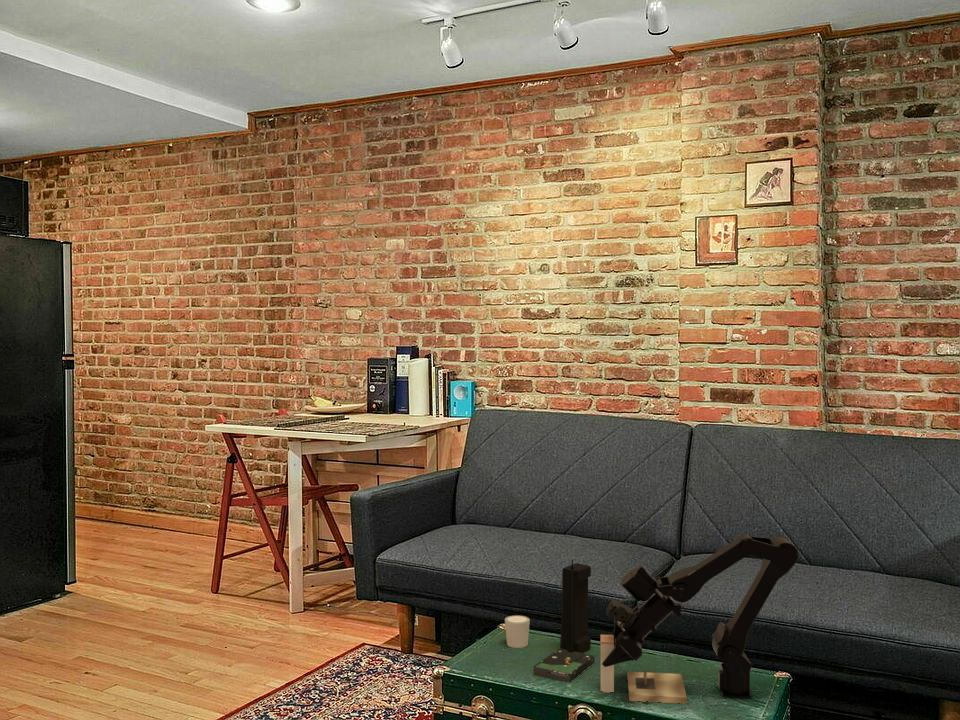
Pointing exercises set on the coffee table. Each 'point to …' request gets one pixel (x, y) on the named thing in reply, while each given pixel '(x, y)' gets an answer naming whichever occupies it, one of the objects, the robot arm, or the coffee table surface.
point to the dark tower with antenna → (575, 608)
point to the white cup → (517, 631)
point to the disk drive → (563, 665)
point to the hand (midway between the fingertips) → (603, 658)
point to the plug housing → (608, 672)
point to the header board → (656, 687)
